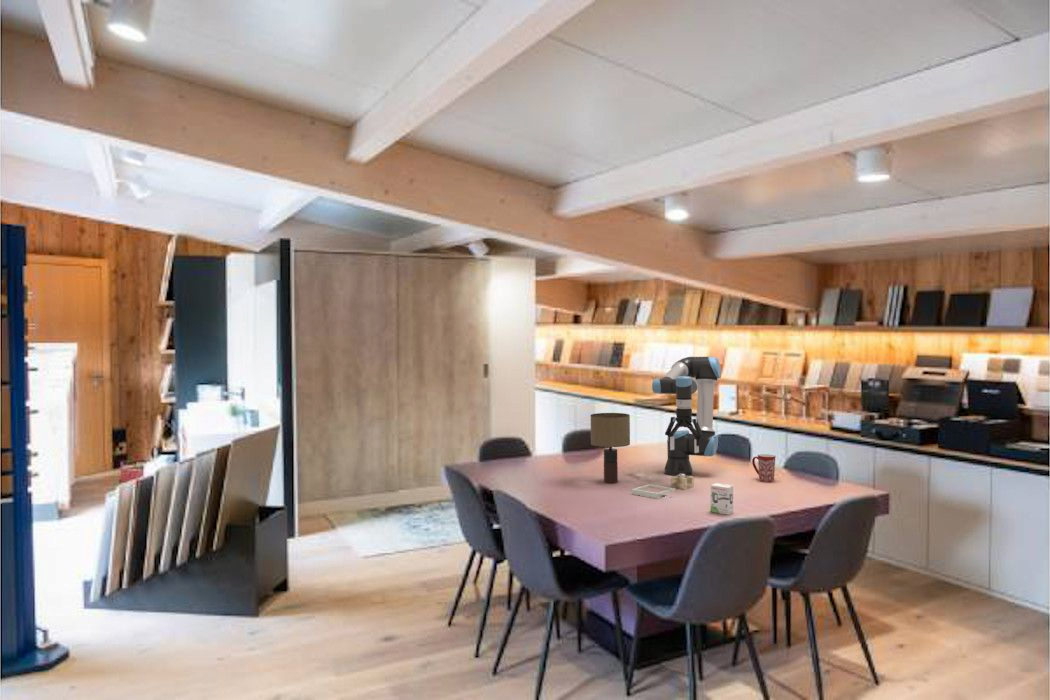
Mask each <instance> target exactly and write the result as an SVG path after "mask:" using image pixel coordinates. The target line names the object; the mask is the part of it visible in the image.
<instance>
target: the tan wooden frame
mask: <svg viewBox="0 0 1050 700" xmlns="http://www.w3.org/2000/svg"><path fill="white" fill-rule="evenodd" d="M670 488H675V489H680V490H688V489H691V488H695V477H694V476H691V475H687V476H686V475H685V478H679V475H677V476H674V475H672V476H670Z"/></svg>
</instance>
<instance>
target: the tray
mask: <svg viewBox="0 0 1050 700" xmlns="http://www.w3.org/2000/svg"><path fill="white" fill-rule="evenodd" d="M647 488H655V489H661V490H663V491H659V492H653V491H647V490H643V489H647ZM676 489H677V488H673V487H671V486H670V487H668V486H663V485H657V484H646V485H642V486H638V487H634V488H631V490H630V493H631V495H633V494H634V496H639V495H640V497H644V496H645V497H646V498H650V497H651V499H655V498H656V499H657V500H659V499H662V498H665V496H666V497H667V495H665V494H668V493H672V492H675V491H676ZM645 497H644V498H645Z"/></svg>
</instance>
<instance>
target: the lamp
mask: <svg viewBox="0 0 1050 700" xmlns="http://www.w3.org/2000/svg"><path fill="white" fill-rule="evenodd" d="M630 418H631V415H630V414H629V413H624V412H623V413H622V412H598V413H592V414H590V445H591V446H594V447H598V448H604V449H603V482H604V483H605V484H617V483H618V481H619V479H618V478H619V477H618V473H619V472H618V470H619V468H618V448H622V447H628V446H631V425H630V424H631V423H630V422H631V420H630Z"/></svg>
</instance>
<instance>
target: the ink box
mask: <svg viewBox="0 0 1050 700" xmlns="http://www.w3.org/2000/svg"><path fill="white" fill-rule="evenodd" d="M710 512H712V513H716V514H723V515H731V514H734V485H732V484H727V483H726V484H724V483H719V482H716V483H712V484H711V485H710Z"/></svg>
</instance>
